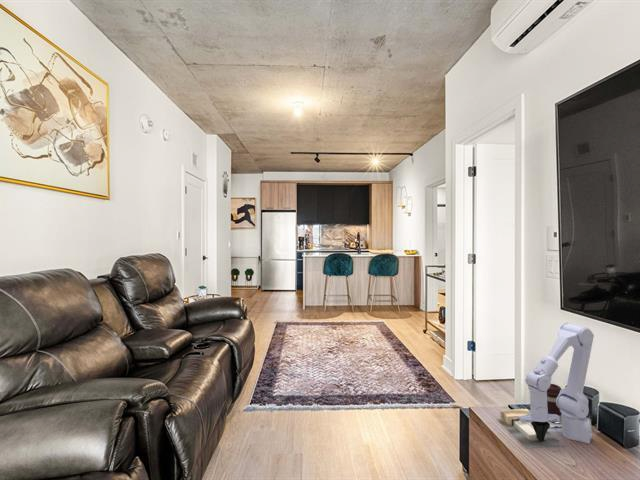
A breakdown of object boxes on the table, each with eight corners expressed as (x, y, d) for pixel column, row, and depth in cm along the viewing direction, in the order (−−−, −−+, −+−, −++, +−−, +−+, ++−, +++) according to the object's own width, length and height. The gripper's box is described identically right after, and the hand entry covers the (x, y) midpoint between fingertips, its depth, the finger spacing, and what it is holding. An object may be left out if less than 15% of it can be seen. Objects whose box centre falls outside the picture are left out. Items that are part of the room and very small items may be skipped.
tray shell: (546, 439, 143) (546, 434, 143) (530, 440, 143) (529, 435, 143) (528, 424, 155) (528, 419, 155) (513, 425, 155) (512, 420, 155)
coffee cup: (534, 419, 161) (533, 385, 161) (548, 413, 165) (546, 380, 165) (558, 429, 152) (556, 392, 152) (571, 422, 157) (570, 387, 157)
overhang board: (566, 448, 138) (565, 434, 138) (526, 450, 138) (525, 436, 138) (529, 419, 161) (529, 407, 161) (495, 420, 161) (495, 409, 161)
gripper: (550, 399, 146) (552, 433, 146) (514, 401, 146) (516, 435, 145) (562, 407, 139) (564, 443, 139) (524, 409, 138) (526, 445, 138)
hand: (540, 440), depth 142 cm, fingers closed, pressing on tray shell
